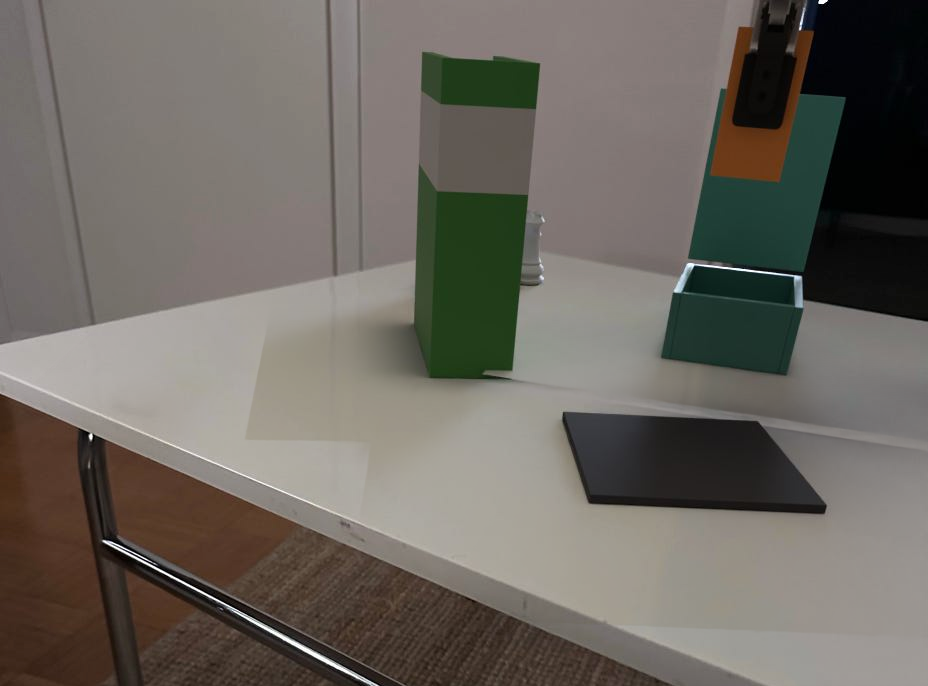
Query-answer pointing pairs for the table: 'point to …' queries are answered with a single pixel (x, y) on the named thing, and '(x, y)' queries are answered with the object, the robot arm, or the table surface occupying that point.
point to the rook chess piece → (532, 250)
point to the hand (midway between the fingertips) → (758, 121)
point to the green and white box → (472, 210)
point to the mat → (685, 463)
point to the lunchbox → (734, 318)
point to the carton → (756, 147)
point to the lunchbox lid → (769, 196)
